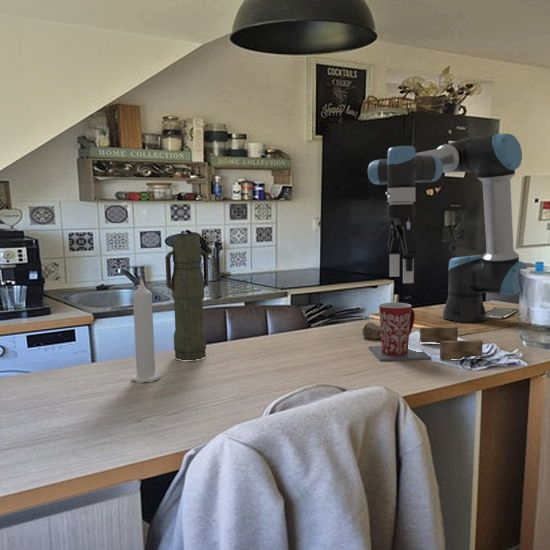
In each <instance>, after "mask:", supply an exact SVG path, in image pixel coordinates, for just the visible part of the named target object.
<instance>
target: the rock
mask: <svg viewBox="0 0 550 550" xmlns="http://www.w3.org/2000/svg"><path fill="white" fill-rule="evenodd" d="M361 331H362V332H361V333H362V336H364V337H365V338H366V339H369V340H378V339H381V327H380V325H377V324H376V323H373V322H368V323H365V325H364V326H363V329H362V330H361Z"/></svg>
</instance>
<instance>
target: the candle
mask: <svg viewBox="0 0 550 550" xmlns="http://www.w3.org/2000/svg"><path fill="white" fill-rule="evenodd" d="M132 308H133V325H134V328H133V329H134V343H135V344H134V345H135V348H134V349H135V364H136V365H135V366H136V373H135V374H133V375H132V376H131V381H132V380H133V381H135V382H141V383H140V384H143V383H142V382H151V383H153V382H152V381H155V380H158V379H159V380H161V378H162V374H160V373H159V372H156V361H155V360H156V359H155V356H156V355H155V338H154V337H155V335H154V334H155V333H154V317H153V316H154V314H153V313H154V312H153V294H152V291H150V290H149V289H148V288H146V287H145V284H144V280H143V279H140V281H139V285H138V287H137V289H136V290H135V291H134V292H133V293H132ZM159 380H158V381H159ZM133 381H132V382H133ZM135 382H134V383H135ZM155 382H156V381H155Z"/></svg>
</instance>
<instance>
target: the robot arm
mask: <svg viewBox="0 0 550 550" xmlns="http://www.w3.org/2000/svg"><path fill="white" fill-rule="evenodd" d="M522 151H523V150H522V147H521V144H520V142H519V139H517V137H516V136H515V135H513V134H511V133H496V134H495V133H494V134H489V135H480V136H471V137H466V138H462V139H459V140H456V141H452V142H449V143H445V144H442V145H440V146H438V147H437V148H435V149H430V150H426V151H425V150H424V151H420V152H416V148H415V147H414V146H413V145H412V146H411V145H399V146H391V147H389V148H388V150H387V158H384V159H383V158H380V159H376V160H373V161H371V162H370V163H369V165H368V167H367V176H368V180H369V182H371V183H372V184H374V185H381V186H383V185H387V191H385V196H387V203H389V204H388V205H387V206H386V208H387V212H386V213H387V215H386V217H387V218H388V219H393V220H390V222H389V223H390V224H389V226H390V227H389V236H388V242H387V249H386V250H387V252H388V253H389V277H390V278H391V277H393V278H394V277H398V278H399V277H400V254H401V250H400V248H401V249H402V253H403V255H402V257H401V260H402V284H414V281H415V280H414V277H415V276H414V275H415V274H414V273H415V272H414V271H415V265H414V264H415V263H414V260H415V258H416V257H417V256H418V253H417V246H416V241H415V234H414V233H415V232H414V222H413V221H410V220H409V219H411V218H415V217H416V205H415V204H414V203H415V202H416V183H434V182H436V181H438V180H439V179H440V178H441V176H442V175H443V173H444V174H449V173H477V174H476V175H477V179H478V180H479V181H480V182H481V183H482V195H483V197H482V198H483V213H484V227H485V246H486V248H485V249H486V250H485V251H486V252H485V253H484V254H483V255H481V254H480V255H479V254H478V255H476V254H475V255H468V256H467V255H466V256H465V255H464V256H459V257H458V256H457V257H452V258H450V259H449V262H448V268H447V271H448V277H447V278H448V279H447V280H448V282H447V283H448V285H447V286H448V289H447V291H448V292H447V293H448V295H447V300H446V302H445V306H444V308H443V311H442V319H444V318H445V319H444V320H446V319H449V320H453V321H452V322H455V321H458V322H457V323H481V322H485V321H487V311H486V308H485V305H484V301H483V297H482V296H483V294H484V293H485V294H494V295H501V296H516V295H517V294H519V293H520V292H521V291H520V285H519V279H518V274H519V270H520V269H527V270H528V267H527V266H526V263H525V262H523V261H521V260H520V256H519V253H517V252H516V251H515V250H514V247H515V246H514V233H513V232H514V230H513V209H512V208H513V207H512V188H511V185H512V184H511V180H512V178H513V177H514V176H515V175H516V170H518V169H519V168H520V166H521V165H522V160H523V152H522ZM449 320H448V321H449Z"/></svg>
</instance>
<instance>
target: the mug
mask: <svg viewBox="0 0 550 550" xmlns="http://www.w3.org/2000/svg"><path fill="white" fill-rule="evenodd" d="M412 307H413V305H411V303H410V304H409V303H406V302H405V303H404V302H383V303H380V304H378V308H379V324H380V325H379V326H380V327H381V338H380V341H381V342H380V346H381V347H382V352H383V353H385V354H389V355H403V354H406V353H408V345H409V341H410V340H409V339H410V334H412V333H411V332H412V330H413V326H414V323H415V310H414V309H413V308H412Z"/></svg>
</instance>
